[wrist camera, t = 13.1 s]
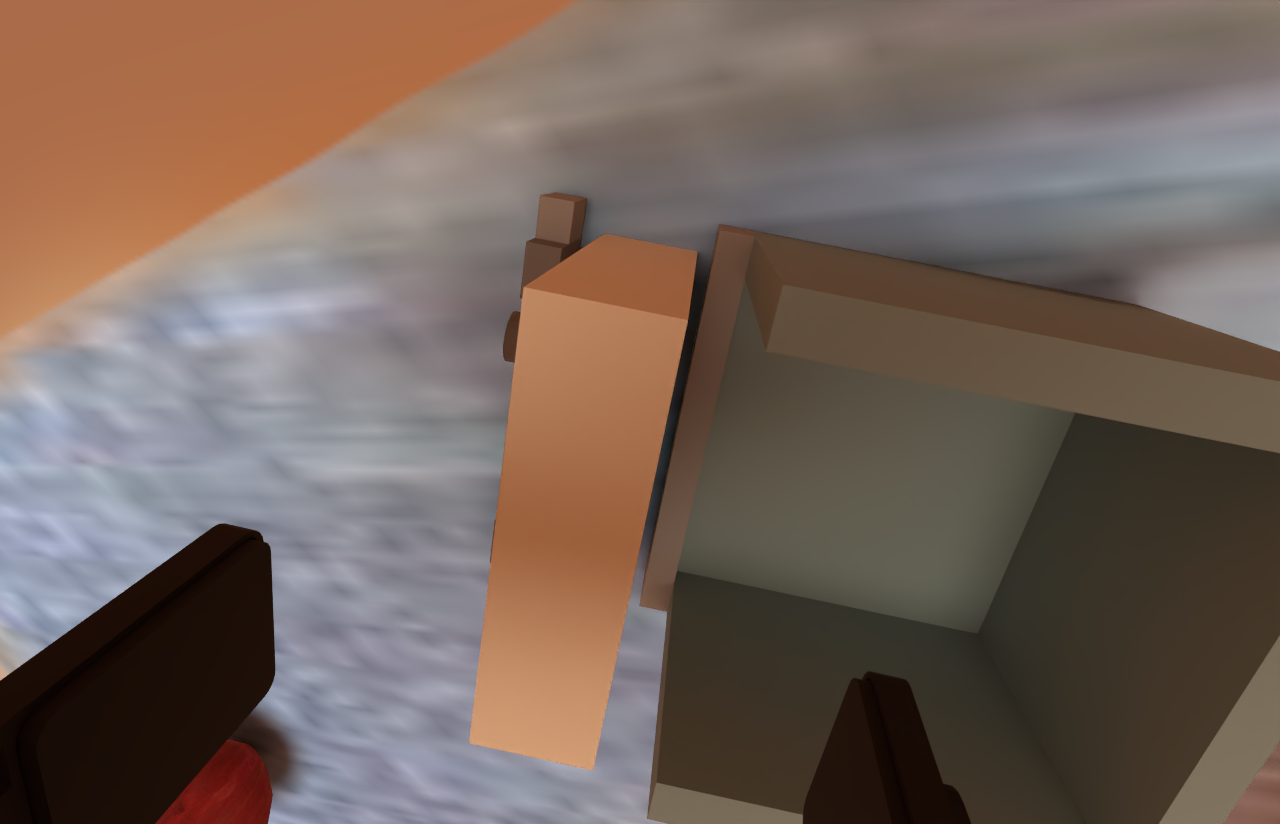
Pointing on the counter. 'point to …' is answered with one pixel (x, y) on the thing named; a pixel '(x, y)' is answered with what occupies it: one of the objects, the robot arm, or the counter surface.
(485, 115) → the counter surface
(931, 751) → the robot arm
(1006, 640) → the cabinet
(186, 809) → the onion
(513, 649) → the door
